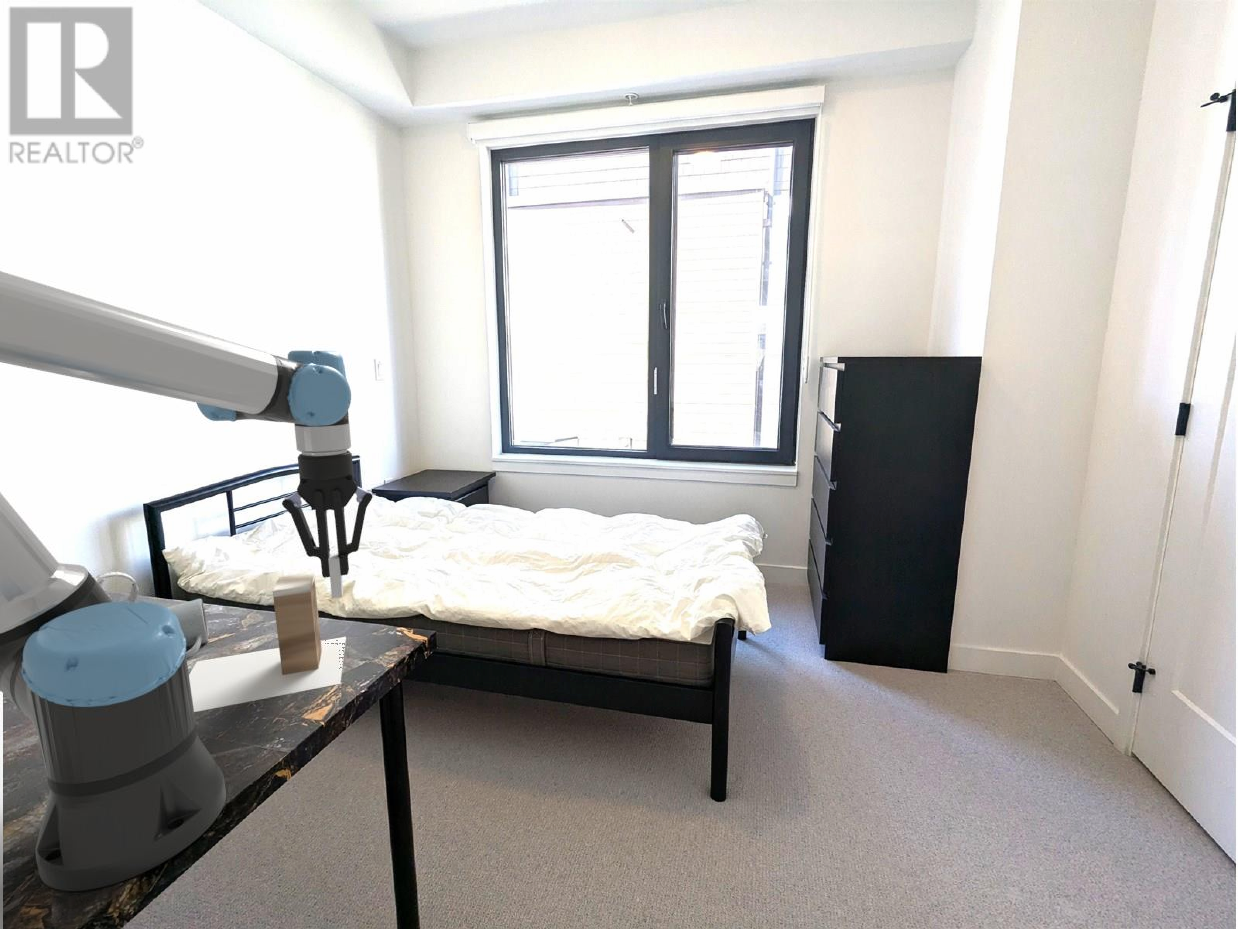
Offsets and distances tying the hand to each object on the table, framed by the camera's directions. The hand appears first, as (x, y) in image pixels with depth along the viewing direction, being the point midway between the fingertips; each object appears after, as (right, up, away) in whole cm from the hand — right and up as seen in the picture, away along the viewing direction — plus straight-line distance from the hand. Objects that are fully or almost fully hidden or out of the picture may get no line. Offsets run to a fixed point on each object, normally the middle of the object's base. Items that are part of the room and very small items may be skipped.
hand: (337, 594), depth 92 cm
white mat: (-10, -12, -3) cm, 16 cm away
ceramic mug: (-29, -11, +5) cm, 31 cm away
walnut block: (-6, -11, 0) cm, 12 cm away
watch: (-46, -10, +11) cm, 48 cm away
